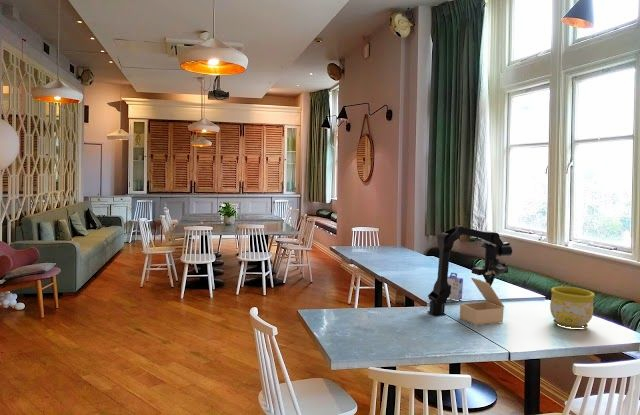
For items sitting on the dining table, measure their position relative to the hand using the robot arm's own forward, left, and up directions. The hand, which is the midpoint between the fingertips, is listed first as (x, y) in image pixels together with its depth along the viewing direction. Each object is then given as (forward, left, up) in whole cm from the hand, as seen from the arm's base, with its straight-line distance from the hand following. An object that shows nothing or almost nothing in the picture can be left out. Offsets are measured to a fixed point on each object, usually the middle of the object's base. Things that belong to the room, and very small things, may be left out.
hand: (489, 287), depth 249 cm
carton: (-14, -11, -12) cm, 22 cm away
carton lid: (-11, -11, +1) cm, 16 cm away
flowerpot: (+22, -30, -13) cm, 39 cm away
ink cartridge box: (-4, +24, -13) cm, 27 cm away
